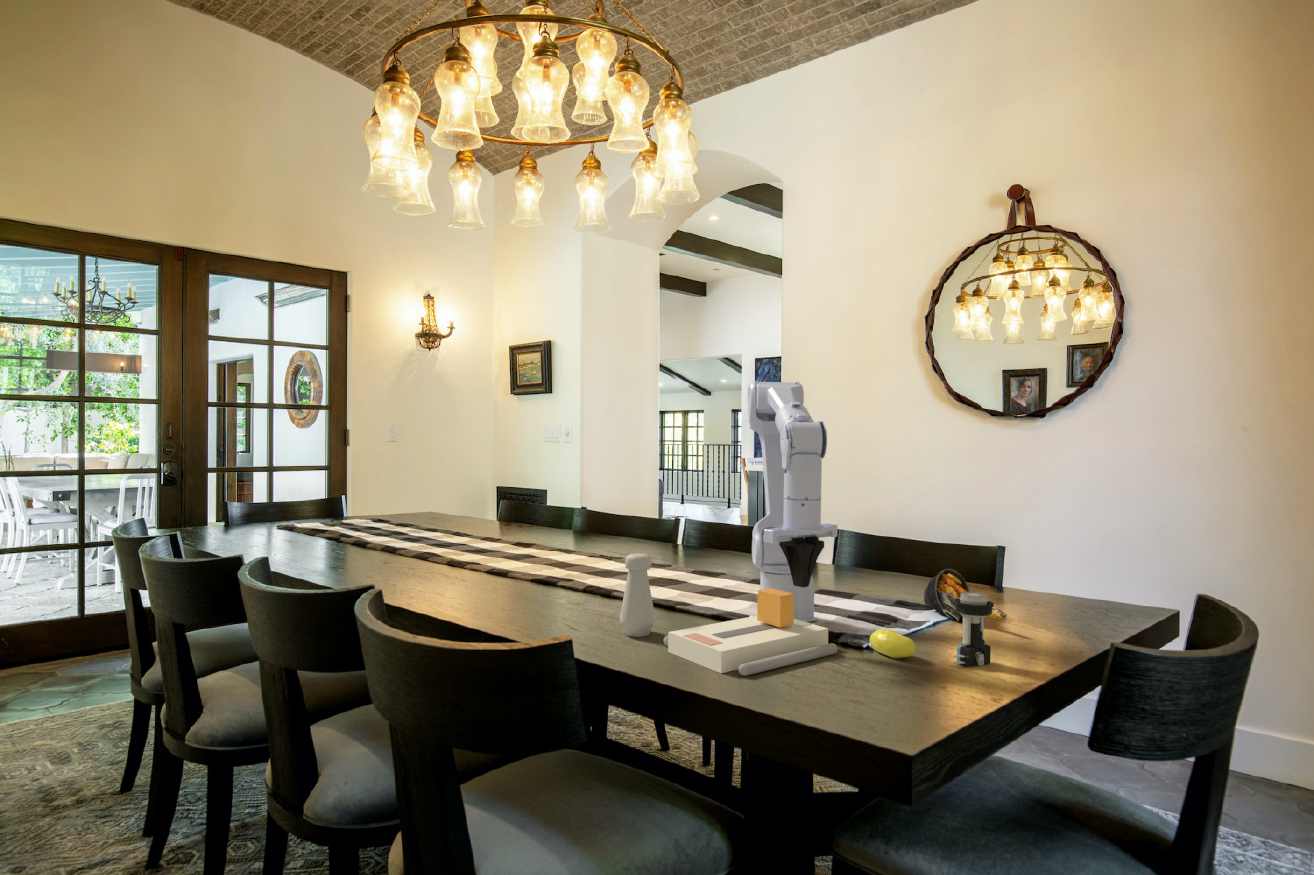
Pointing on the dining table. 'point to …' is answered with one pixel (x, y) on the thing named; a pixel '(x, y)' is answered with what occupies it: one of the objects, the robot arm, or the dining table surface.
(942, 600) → the fried shrimp in bowl
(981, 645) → the push button
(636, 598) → the salt shaker
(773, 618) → the block
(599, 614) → the dining table surface
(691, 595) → the dining table surface
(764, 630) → the breaker panel
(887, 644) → the lemon
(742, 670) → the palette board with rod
